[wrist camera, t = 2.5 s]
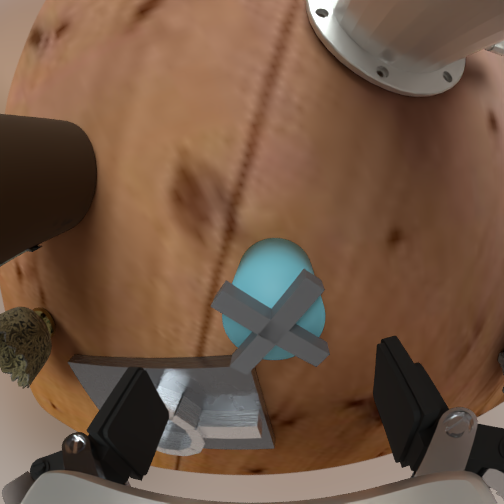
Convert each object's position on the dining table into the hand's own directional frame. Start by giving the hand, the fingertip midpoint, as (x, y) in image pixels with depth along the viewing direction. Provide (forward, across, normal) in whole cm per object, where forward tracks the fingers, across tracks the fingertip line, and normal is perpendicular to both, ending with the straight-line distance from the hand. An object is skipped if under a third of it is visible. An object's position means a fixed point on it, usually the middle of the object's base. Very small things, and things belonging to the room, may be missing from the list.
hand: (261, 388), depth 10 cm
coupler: (+10, -1, -1) cm, 10 cm away
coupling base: (+10, +12, +12) cm, 20 cm away
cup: (+10, +24, +1) cm, 26 cm away
